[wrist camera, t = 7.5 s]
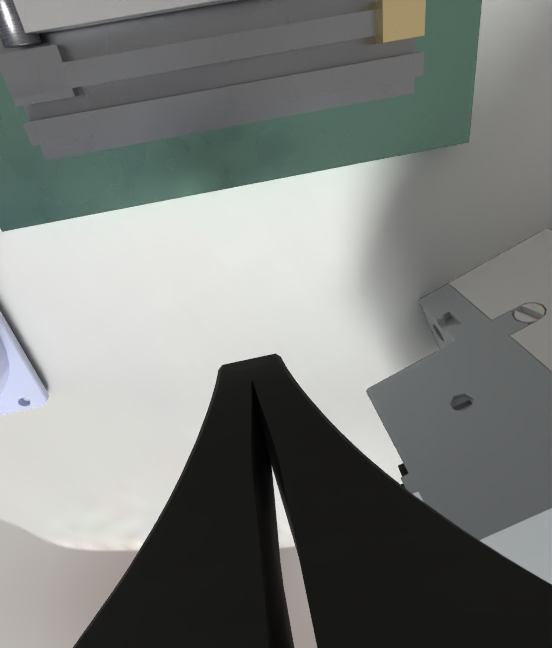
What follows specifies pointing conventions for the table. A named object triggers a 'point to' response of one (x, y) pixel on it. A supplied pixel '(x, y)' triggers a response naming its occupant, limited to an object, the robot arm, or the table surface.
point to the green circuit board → (227, 99)
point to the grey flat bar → (75, 15)
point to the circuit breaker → (484, 405)
